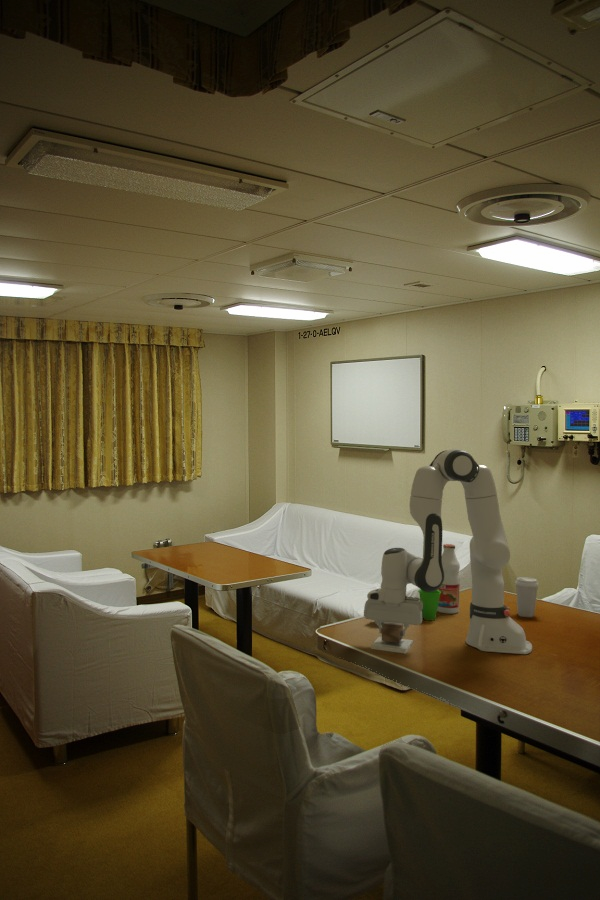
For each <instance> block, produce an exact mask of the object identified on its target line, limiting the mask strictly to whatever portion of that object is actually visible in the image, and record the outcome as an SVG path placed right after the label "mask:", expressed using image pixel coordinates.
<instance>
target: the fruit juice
mask: <svg viewBox="0 0 600 900" xmlns="http://www.w3.org/2000/svg"><path fill="white" fill-rule="evenodd" d="M455 549H456V545H455V544H452V543H450V544H449V543H444V544H442V566H443V570H444V581H443V584H442V585H441V587H440V588H439V589H438V590H439V591H441V593H440V597H439V602H438V608H437V612H439V613H441V614H449V615H450V614H457V613H459V612H460V589H461V587H460V586H461V585H460V584H461V581H460V574H459V571H460V568H461V565H460V562H459V561H458V559H457V557H456V556H457V555H456V552H455Z"/></svg>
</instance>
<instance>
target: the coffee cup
mask: <svg viewBox="0 0 600 900" xmlns="http://www.w3.org/2000/svg"><path fill="white" fill-rule="evenodd" d="M514 584H515V590H516V607H517V609H516V611H517V616H518V617H523V618H534V617H535V611H536V603H537V596H538V594H537V593H538V587H540V584H539V581H538V579H536V578H533V577H525V576H524V577H523V576H521V577H517V578H516V580H515V581H514Z"/></svg>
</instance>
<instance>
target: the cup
mask: <svg viewBox="0 0 600 900" xmlns="http://www.w3.org/2000/svg"><path fill="white" fill-rule="evenodd" d="M418 593H419V594H418V595H419V599H420V600H421V601H422V602H423V609H422V619H423V618H424V619H423V620H426V619H428V620H427V621H434V620H436V618H437V612H438V611H437V608H438V602H439V597H440V593H441V591H439V590H436V591H434V592H424V591H423V590H421V589H420V588H419V590H418ZM420 600H419V601H420Z"/></svg>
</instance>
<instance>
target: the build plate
mask: <svg viewBox="0 0 600 900" xmlns="http://www.w3.org/2000/svg"><path fill="white" fill-rule="evenodd" d="M413 644H414V640H413V639H406V638H402V639H401V641H400V642H399V643H396V642H389V641H382V635H379V636H378V637H377V639H375V640H374V642H373V643H371V645H370V649H371V650H378V651H383V652H384V651H385V652H392V653H398V654H407V652H408V651H409V650H410V649H411V647H412V646H413Z"/></svg>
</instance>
